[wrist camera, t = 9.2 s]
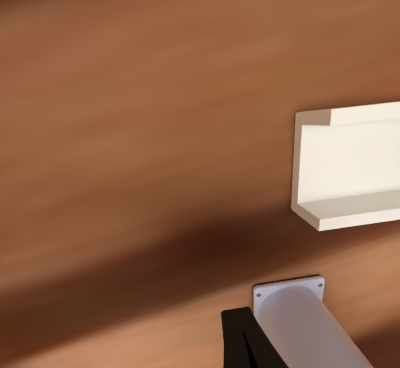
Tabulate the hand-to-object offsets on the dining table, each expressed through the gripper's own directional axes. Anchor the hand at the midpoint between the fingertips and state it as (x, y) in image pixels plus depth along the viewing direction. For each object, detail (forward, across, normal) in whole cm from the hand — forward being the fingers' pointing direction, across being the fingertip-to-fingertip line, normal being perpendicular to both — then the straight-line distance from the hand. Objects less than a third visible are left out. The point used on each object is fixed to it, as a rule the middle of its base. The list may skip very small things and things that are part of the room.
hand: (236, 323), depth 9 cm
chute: (+9, -19, -5) cm, 22 cm away
